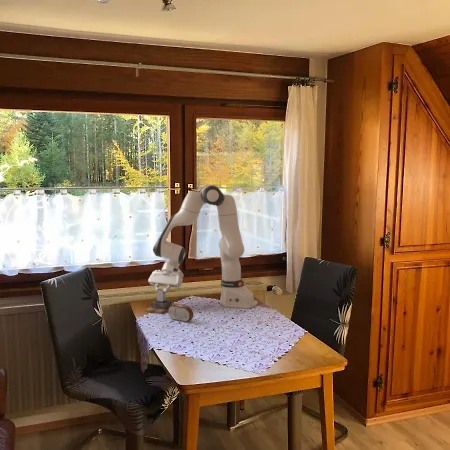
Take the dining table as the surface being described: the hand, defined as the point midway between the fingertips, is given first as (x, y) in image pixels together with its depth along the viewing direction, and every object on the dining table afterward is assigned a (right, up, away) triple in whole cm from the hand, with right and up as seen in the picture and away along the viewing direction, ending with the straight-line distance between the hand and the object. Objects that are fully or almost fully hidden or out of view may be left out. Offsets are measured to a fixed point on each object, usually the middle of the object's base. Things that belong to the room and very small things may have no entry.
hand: (160, 291), depth 276 cm
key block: (0, -7, +2) cm, 7 cm away
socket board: (0, -10, +2) cm, 10 cm away
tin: (+13, -13, -19) cm, 26 cm away
